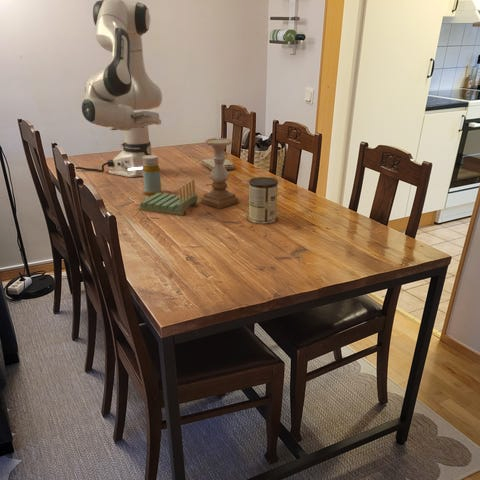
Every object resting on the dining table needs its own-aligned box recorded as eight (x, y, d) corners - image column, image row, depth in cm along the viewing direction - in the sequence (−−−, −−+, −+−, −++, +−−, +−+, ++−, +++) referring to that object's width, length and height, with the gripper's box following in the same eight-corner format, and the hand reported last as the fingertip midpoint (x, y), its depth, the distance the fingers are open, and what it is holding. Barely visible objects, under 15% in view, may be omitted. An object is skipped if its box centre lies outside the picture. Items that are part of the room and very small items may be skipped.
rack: (139, 209, 185) (137, 183, 180) (157, 199, 196) (155, 174, 191) (181, 215, 180) (180, 188, 174) (197, 204, 191) (196, 179, 186)
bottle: (163, 191, 206) (160, 155, 198) (159, 196, 200) (156, 159, 193) (147, 190, 207) (143, 154, 199) (142, 195, 201) (139, 158, 193)
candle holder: (200, 202, 193) (198, 140, 181) (219, 196, 200) (218, 136, 188) (219, 208, 187) (218, 144, 175) (238, 202, 194) (239, 140, 182)
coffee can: (253, 213, 183) (254, 175, 176) (279, 216, 180) (281, 178, 173) (244, 221, 175) (245, 183, 168) (271, 225, 172) (273, 186, 165)
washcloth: (213, 172, 234) (213, 165, 232) (200, 164, 248) (200, 157, 246) (235, 169, 238) (236, 163, 237) (221, 161, 252) (221, 155, 250)
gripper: (142, 104, 171) (169, 111, 182) (105, 112, 183) (133, 119, 194) (143, 123, 173) (170, 129, 183) (106, 130, 185) (134, 135, 195)
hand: (151, 124), depth 189 cm, fingers open, 8 cm apart
